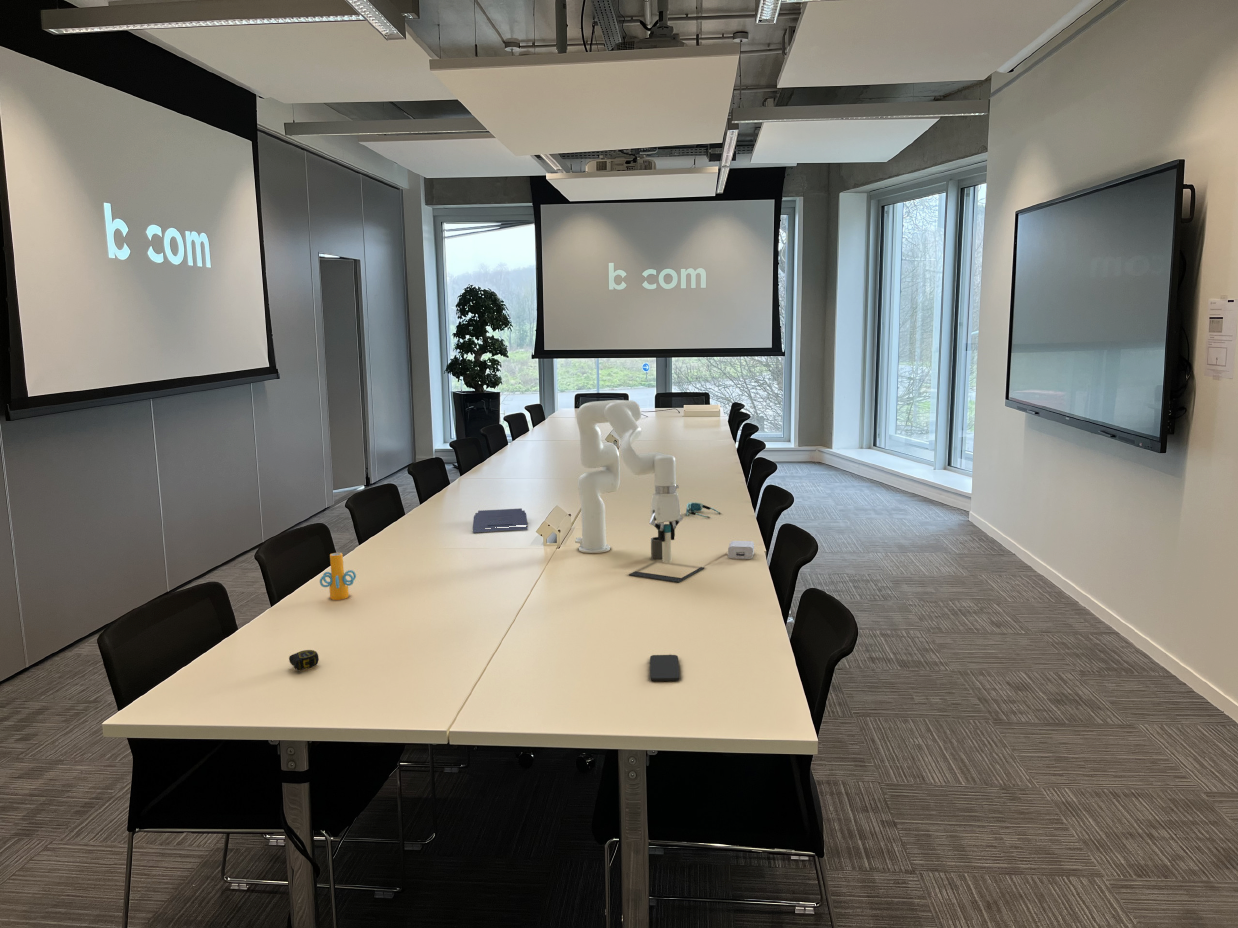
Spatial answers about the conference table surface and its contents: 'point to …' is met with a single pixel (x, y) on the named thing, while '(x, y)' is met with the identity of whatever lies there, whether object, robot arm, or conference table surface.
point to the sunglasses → (697, 508)
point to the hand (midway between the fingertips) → (666, 539)
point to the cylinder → (338, 578)
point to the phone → (664, 668)
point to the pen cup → (656, 548)
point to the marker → (666, 544)
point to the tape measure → (304, 659)
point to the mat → (664, 578)
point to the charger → (741, 550)
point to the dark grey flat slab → (499, 520)
